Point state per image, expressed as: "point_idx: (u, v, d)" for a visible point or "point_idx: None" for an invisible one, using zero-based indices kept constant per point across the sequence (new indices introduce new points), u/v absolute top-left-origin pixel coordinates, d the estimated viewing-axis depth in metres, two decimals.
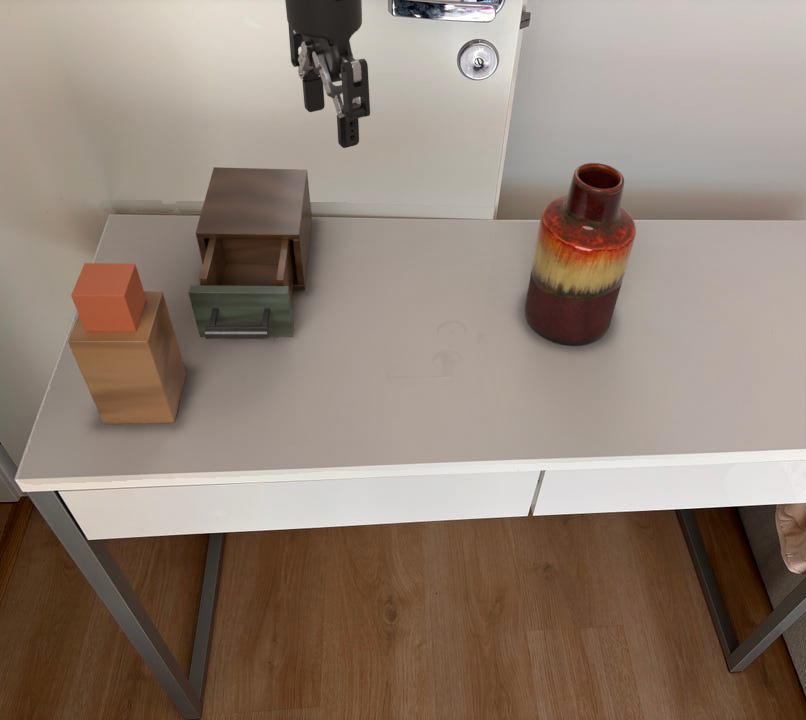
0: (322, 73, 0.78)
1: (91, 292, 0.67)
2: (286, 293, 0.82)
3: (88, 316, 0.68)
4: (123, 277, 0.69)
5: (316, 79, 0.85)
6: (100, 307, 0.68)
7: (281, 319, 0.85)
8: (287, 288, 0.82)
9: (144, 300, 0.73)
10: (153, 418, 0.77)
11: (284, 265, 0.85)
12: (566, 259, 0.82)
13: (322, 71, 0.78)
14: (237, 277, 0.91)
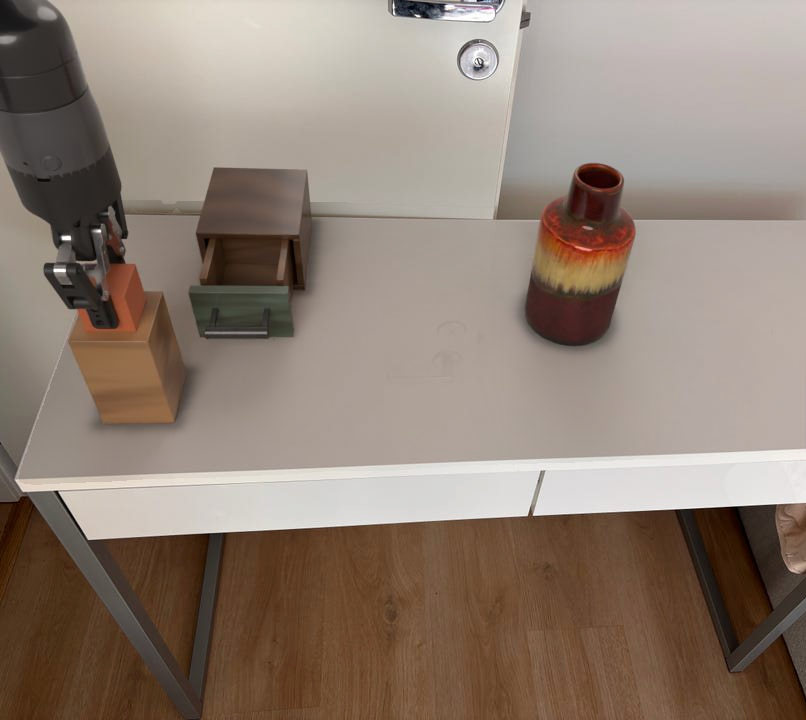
0: None
1: None
2: (286, 293, 0.82)
3: (88, 316, 0.68)
4: (123, 277, 0.69)
5: (113, 260, 0.70)
6: None
7: (281, 319, 0.85)
8: (287, 288, 0.82)
9: (144, 300, 0.73)
10: (153, 418, 0.77)
11: (284, 265, 0.85)
12: (566, 259, 0.82)
13: None
14: (237, 277, 0.91)
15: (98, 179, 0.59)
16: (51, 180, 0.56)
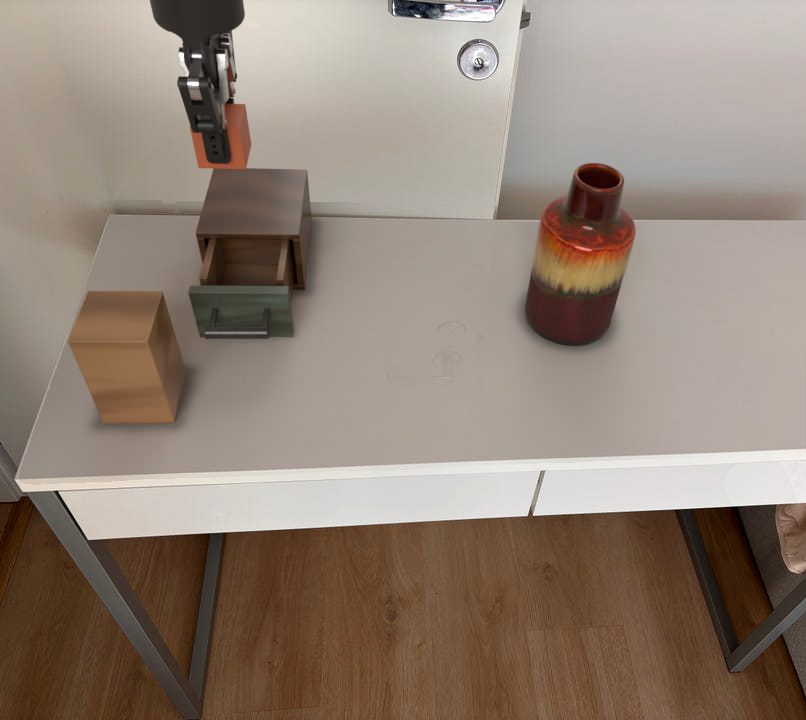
0: None
1: None
2: (286, 293, 0.82)
3: (203, 150, 0.72)
4: (236, 114, 0.72)
5: None
6: None
7: (281, 319, 0.85)
8: (287, 288, 0.82)
9: (250, 144, 0.76)
10: (153, 418, 0.77)
11: (284, 265, 0.85)
12: (566, 259, 0.82)
13: None
14: (237, 277, 0.91)
15: None
16: None
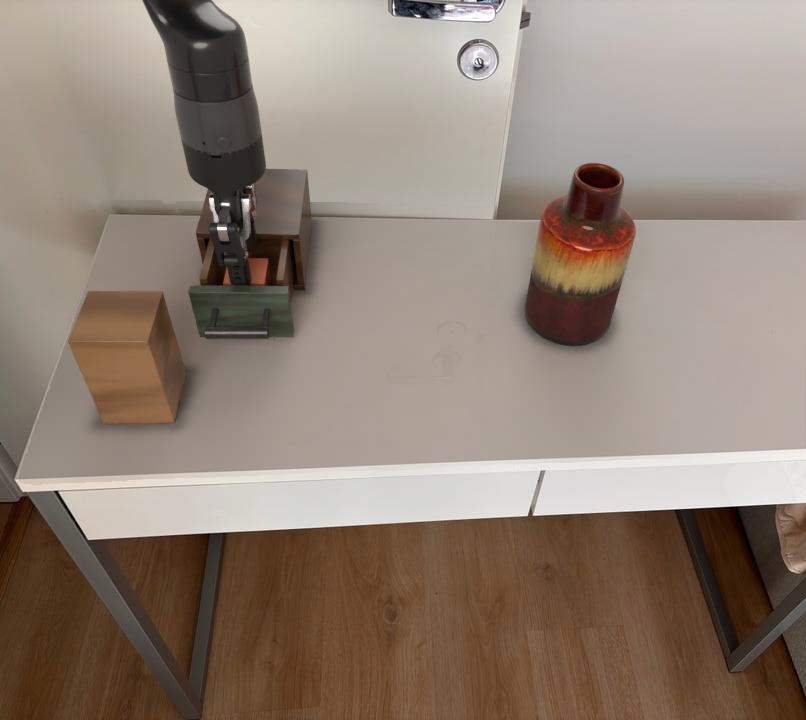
0: None
1: None
2: (286, 293, 0.82)
3: None
4: (261, 269, 0.86)
5: None
6: None
7: (281, 319, 0.85)
8: (287, 288, 0.82)
9: None
10: (153, 418, 0.77)
11: (284, 265, 0.85)
12: (566, 259, 0.82)
13: None
14: None
15: (254, 157, 0.73)
16: (222, 157, 0.71)
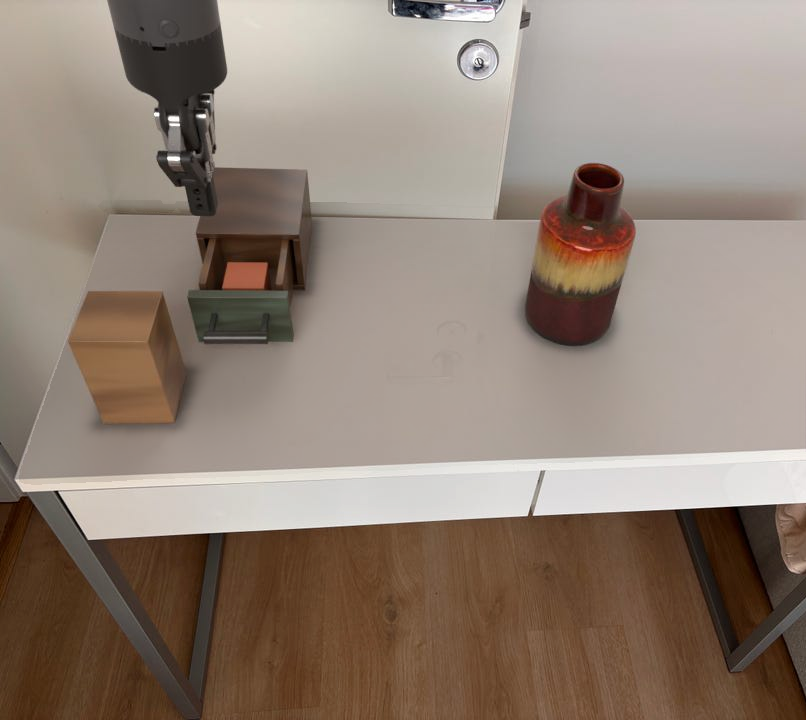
0: None
1: (237, 285, 0.84)
2: (285, 298, 0.81)
3: None
4: (260, 273, 0.86)
5: None
6: None
7: (280, 324, 0.84)
8: (286, 293, 0.82)
9: None
10: (153, 418, 0.77)
11: (283, 269, 0.85)
12: (566, 259, 0.82)
13: (163, 132, 0.61)
14: None
15: (210, 54, 0.56)
16: (166, 49, 0.54)
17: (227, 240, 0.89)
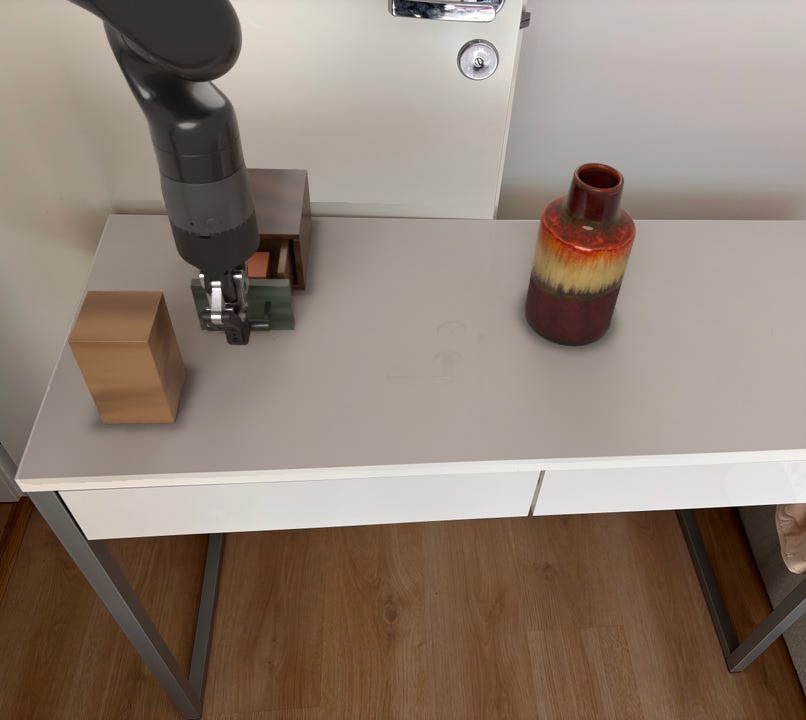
0: None
1: None
2: (287, 286, 0.83)
3: None
4: (262, 262, 0.87)
5: None
6: None
7: (282, 312, 0.85)
8: (288, 281, 0.83)
9: None
10: (153, 418, 0.77)
11: (285, 258, 0.86)
12: (566, 259, 0.82)
13: None
14: None
15: (246, 234, 0.68)
16: (211, 237, 0.66)
17: None
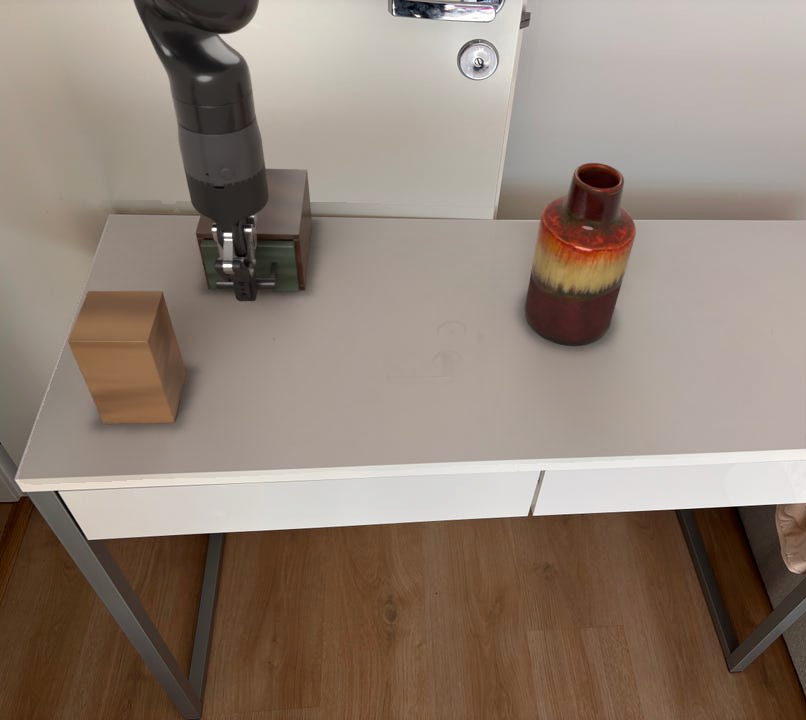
0: None
1: None
2: (292, 247, 0.87)
3: None
4: None
5: None
6: None
7: (287, 273, 0.90)
8: (293, 242, 0.88)
9: None
10: (153, 418, 0.77)
11: None
12: (566, 259, 0.82)
13: (218, 241, 0.78)
14: None
15: (257, 187, 0.73)
16: (225, 187, 0.71)
17: None
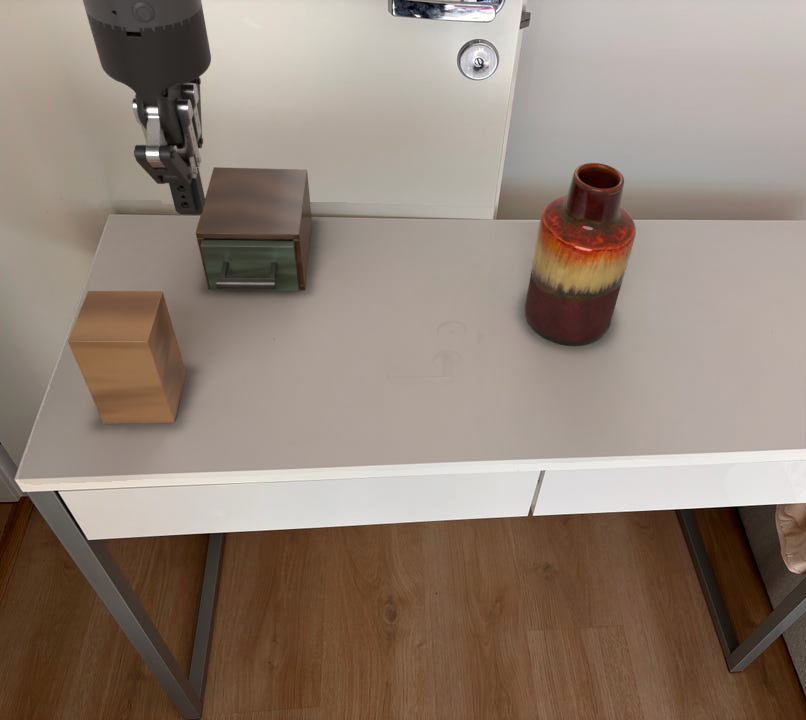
0: None
1: None
2: (292, 247, 0.87)
3: None
4: None
5: None
6: None
7: (287, 273, 0.90)
8: (293, 242, 0.88)
9: None
10: (153, 418, 0.77)
11: None
12: (566, 259, 0.82)
13: None
14: None
15: (191, 40, 0.52)
16: (142, 34, 0.50)
17: None
